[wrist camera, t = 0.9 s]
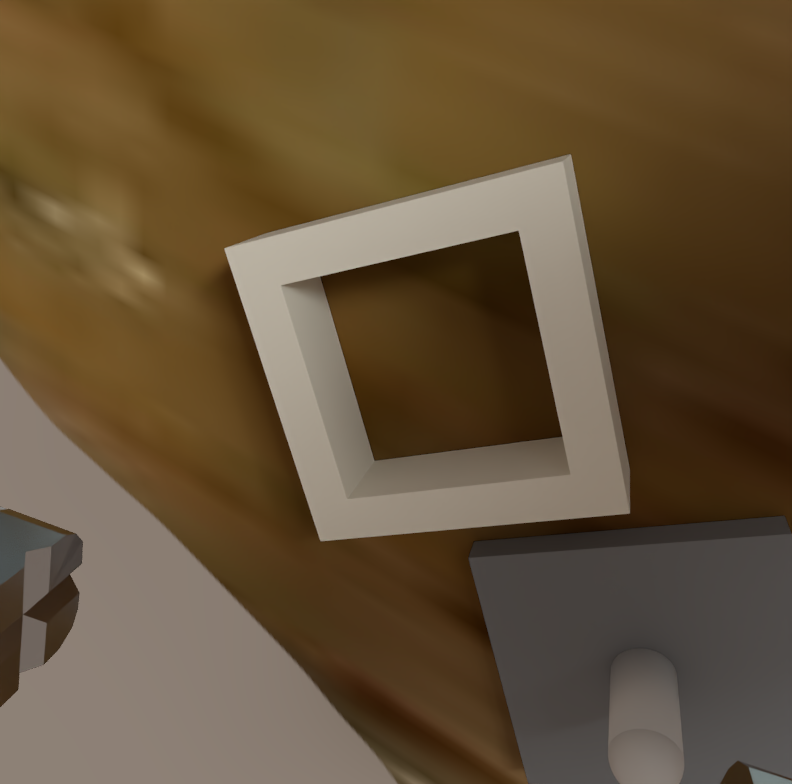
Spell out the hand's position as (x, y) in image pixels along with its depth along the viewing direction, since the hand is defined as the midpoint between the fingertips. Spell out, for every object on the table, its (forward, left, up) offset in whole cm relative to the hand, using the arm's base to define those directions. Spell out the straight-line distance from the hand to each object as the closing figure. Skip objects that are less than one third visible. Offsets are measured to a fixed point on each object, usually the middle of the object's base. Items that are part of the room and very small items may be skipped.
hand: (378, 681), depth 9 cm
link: (+6, +3, -25) cm, 26 cm away
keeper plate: (0, +20, -25) cm, 32 cm away
